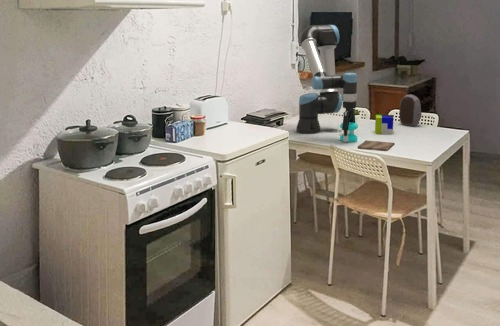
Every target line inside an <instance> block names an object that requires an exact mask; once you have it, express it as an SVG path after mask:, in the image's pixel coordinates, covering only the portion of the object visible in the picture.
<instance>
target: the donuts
mask: <svg viewBox="0 0 500 326" xmlns="http://www.w3.org/2000/svg"><path fill="white" fill-rule="evenodd" d="M342 126H343V122H342V123H340V125H339V128H340V129H341V130H342ZM358 126H359V125H358V124H357V123H356V122H355V123H352V122H349V127H348V130H349V131H352V130H354V131H356V130H358ZM345 128H346V127H345ZM358 139H359V138H358V136H357V135H356V134H355V133H354V134H348V142H346V141H343V134H341V135H340V137H339V140H340V141H341V142H343V143H344V142H345V143H354V142H356V141H358Z"/></svg>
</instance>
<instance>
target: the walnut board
mask: <svg viewBox="0 0 500 326" xmlns="http://www.w3.org/2000/svg"><path fill="white" fill-rule="evenodd" d="M393 146H395V142H388V141H379V140H378V141H377V140H364V141H363V142H362V143H361V144H359V145H358V146H357V149H361V150H371V151H372V150H373V151H381V152H388V151H389V150H390V149H392V147H393Z"/></svg>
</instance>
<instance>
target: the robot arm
mask: <svg viewBox="0 0 500 326" xmlns="http://www.w3.org/2000/svg"><path fill="white" fill-rule="evenodd" d="M339 32H340V31H339V28H338V26H336V25H335V24H319V25H318V24H317V25H315V24H312V25H309V26H307V27H305V29H303V30H302V32H301V35H300V40H299V44H300V47H301V49H302V50H303V51H304V53H305V57H306V59H307V62H308V64H309V67H310V70H311V74H312V76H311V77H312V78H311V87H312V89H313V90H316V91H317V90H320V91H319V94H318V93H317V92H309V93H304V94H302V95H299V99H298V113H299V114H298V122H297V123H296V124H297V125H296V130H295V131H296V133H299V132H300V133H299V134H319V133H320V132H321V130H322V129H321V124H320V121H319V115H321V114H322V115H323V114H324V115H325V114H337V113H339V112H340V111H341V110H342V108H343V109H345V111H343V119H342V123H343V126H342V129H341V131H343V132H342V133H343V134H342V135H343V141H346V142H345V143H349V142H348V134H354V135H355V130H352V131H349V130H348V127H349V122H352V123H356V112H355V111H356V109H357V97H358V95H357V93H358V92H357V89H358V88H357V87H358V74H357V73H356V72H345V73H343V74H337V75H336V69H335V68H336V64H335V63H336V62H335V49H336V48H337V45H338V44H339V42H340V33H339ZM339 89H342V94H341V93H339ZM345 127H346V128H345ZM343 141H342V142H343Z"/></svg>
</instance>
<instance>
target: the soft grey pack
mask: <svg viewBox="0 0 500 326" xmlns="http://www.w3.org/2000/svg"><path fill="white" fill-rule="evenodd" d="M421 105H422V104H421V101H420V99H419V97H417V96H416V95H415V94H406V95H405V96H403V97H402V98H401V99H400V102H399V112H398V113H399V121H400V124H402V125H403V126H404V125H405V126H417V125H419V123H420V121H421V118H422V115H423V114H422V106H421Z"/></svg>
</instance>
